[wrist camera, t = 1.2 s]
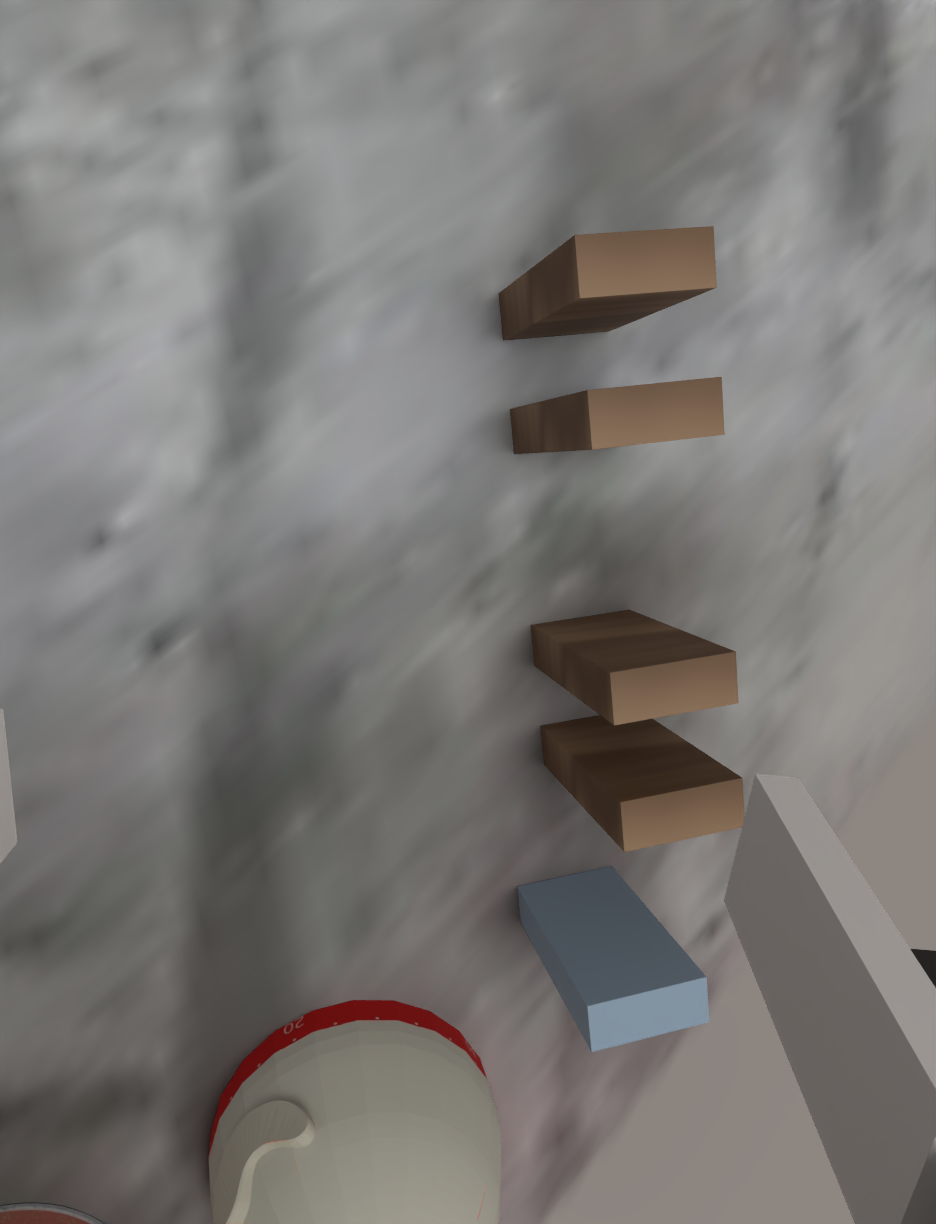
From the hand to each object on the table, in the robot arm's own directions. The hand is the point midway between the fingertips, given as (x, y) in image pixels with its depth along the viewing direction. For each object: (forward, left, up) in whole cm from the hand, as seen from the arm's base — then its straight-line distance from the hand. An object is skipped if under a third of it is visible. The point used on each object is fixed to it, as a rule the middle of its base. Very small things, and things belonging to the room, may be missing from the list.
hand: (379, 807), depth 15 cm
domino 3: (-3, -12, -24) cm, 27 cm away
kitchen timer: (-26, +2, -25) cm, 36 cm away
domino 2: (+7, -12, -24) cm, 28 cm away
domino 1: (+12, -12, -24) cm, 30 cm away
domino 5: (-16, -10, -24) cm, 31 cm away
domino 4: (-8, -12, -24) cm, 28 cm away
